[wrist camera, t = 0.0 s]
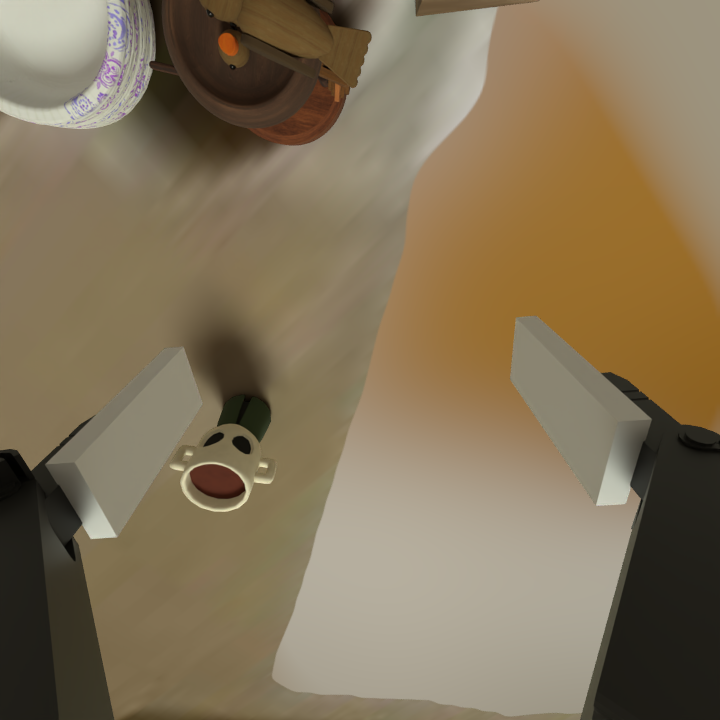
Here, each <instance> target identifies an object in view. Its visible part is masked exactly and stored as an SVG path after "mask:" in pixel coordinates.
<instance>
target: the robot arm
mask: <svg viewBox="0 0 720 720" xmlns="http://www.w3.org/2000/svg"><path fill="white" fill-rule="evenodd" d="M510 380H511V381H512V383H513V384H514V386H515V387H516V389H517V390H518V391H519V393H520V394H521V396H522V397H523V399H524V400H525V402H526V403H527V405H528V406H529V408H530V409H531V411H532V412H533V414H534V415H535V417H536V418H537V420H538V421H539V423H540V424H541V425H542V427H543V428H544V430H545V431H546V433H547V434H548V436H549V437H550V439H551V440H552V442H553V443H554V445H555V446H556V448H557V449H558V451H559V452H560V453H561V455H562V456H563V458H564V459H565V461H566V462H567V464H568V465H569V467H570V468H571V470H572V471H573V473H574V474H575V476H576V477H577V479H578V480H579V481H580V483H581V484H582V486H583V487H584V489H585V490H586V492H587V493H588V494H589V496H590V498H591V499H592V501H593V502H594V504H595V505H596V506H602V505H617V504H626V501H627V498H628V495H629V492H630V488H631V487H632V488H633V490H634V491H635V492H636V493H637V494H638V496H639V497H640V498H641V501H640V504H639V507H638V510H637V513H636V516H635V519H634V522H633V525H632V528H631V529H632V532H631V536H630V540H629V543H628V547H627V551H626V554H625V558H624V562H623V565H622V569H621V573H620V576H619V580H618V584H617V587H616V591H615V595H614V598H613V602H612V606H611V609H610V613H609V617H608V620H607V624H606V628H605V632H604V635H603V639H602V642H601V646H600V650H599V653H598V657H597V661H596V664H595V668H594V672H593V675H592V679H591V683H590V686H589V690H588V693H587V697H586V701H585V704H584V708H583V712H582V715H581V719H580V720H720V435H719V434H717V433H715V432H713V431H710V430H707V429H705V428H702V427H697V426H691V425H681V424H680V423H678V422H677V421H676V420H674V419H673V418H672V417H671V416H670V415H669V414H667V413H666V412H665V411H664V410H663V409H661V408H660V407H659V406H658V405H657V404H655V403H654V402H653V401H652V400H649V399H648V397H647V396H646V395H645V394H643V393H642V392H639V389H637V388H636V387H635V386H634V385H632V384H631V383H630V382H629V381H628V380H626V379H624V378H622V377H620V376H617V375H615V374H613V373H611V372H608V373H600V372H599V371H597V370H596V369H595V368H594V367H593V366H592V365H591V364H590V363H588V362H587V361H586V360H585V359H584V358H583V357H582V356H581V355H580V354H578V353H577V352H576V351H575V350H574V349H573V348H572V347H571V346H569V345H568V344H567V343H566V342H565V341H564V340H563V339H562V338H561V337H559V336H558V335H557V334H556V333H555V332H554V331H553V330H552V329H551V328H549V327H548V326H547V325H546V324H545V323H544V322H543V321H542V320H540V319H539V318H538V317H537V316H529V317H518V318H516V325H515V334H514V345H513V355H512V366H511V376H510ZM202 404H203V403H202V400H201V397H200V394H199V391H198V388H197V385H196V382H195V379H194V376H193V373H192V371H191V368H190V365H189V362H188V359H187V356H186V353H185V350H184V347H174V348H165V349H163V350H162V351H161V352H160V353H159V354H158V355H157V356H156V357H155V358H154V359H153V360H152V361H151V362H150V363H149V364H148V365H147V366H146V367H145V368H144V369H143V370H142V371H141V372H140V373H139V374H138V375H137V376H136V377H135V378H134V379H133V380H132V381H131V382H129V383H128V384H127V385H126V386H125V387H124V388H123V389H122V390H121V391H120V392H119V393H118V394H117V395H116V396H115V397H114V398H113V399H112V400H111V401H110V402H109V403H108V404H107V405H106V406H105V407H104V408H103V409H102V410H101V411H100V412H99V413H98V414H97V415H95V416H93V417H91V418H90V419H88V420H87V421H85V422H83V423H82V424H80V425H79V426H78V427H77V428H76V429H75V430H74V431H73V432H72V433H71V434H70V435H69V437H67V438H66V439H64V440H63V441H62V442H61V443H60V446H57V447H56V448H55V449H54V450H53V451H52V452H51V453H50V454H49V455H48V456H47V457H46V458H44V459H43V460H42V461H41V462H40V463H39V464H38V465H37V466H36V467H35V468H34V469H33V470H32V471H30V469H29V468H28V466H27V464H26V463H25V461H24V460H23V458H22V457H21V455H20V454H19V452H18V451H17V450H12V449H7V450H0V720H114V717H113V712H112V707H111V702H110V697H109V692H108V687H107V682H106V677H105V672H104V667H103V663H102V658H101V653H100V648H99V643H98V638H97V633H96V628H95V623H94V618H93V613H92V609H91V604H90V599H89V594H88V589H87V584H86V579H85V574H84V569H83V564H82V559H81V554H80V550H79V545H78V543H77V542H76V540H75V539H74V537H73V535H74V534H75V533H76V531H77V530H78V529H79V527H80V526H81V525H83V527H84V528H85V530H86V532H87V533H88V535H89V536H90V538H91V539H96V538H112V537H118V535H119V534H120V532H121V531H122V529H123V527H124V526H125V524H126V523H127V521H128V520H129V518H130V517H131V515H132V513H133V512H134V510H135V509H136V507H137V506H138V504H139V503H140V501H141V499H142V498H143V496H144V495H145V493H146V492H147V490H148V489H149V487H150V485H151V484H152V482H153V481H154V479H155V478H156V476H157V475H158V473H159V471H160V470H161V468H162V467H163V465H164V464H165V462H166V461H167V459H168V457H169V456H170V454H171V453H172V451H173V450H174V448H175V446H176V445H177V443H178V442H179V440H180V439H181V437H182V436H183V434H184V432H185V431H186V429H187V428H188V426H189V425H190V423H191V422H192V420H193V418H194V417H195V415H196V414H197V412H198V411H199V409H200V408H201V406H202Z"/></svg>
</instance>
